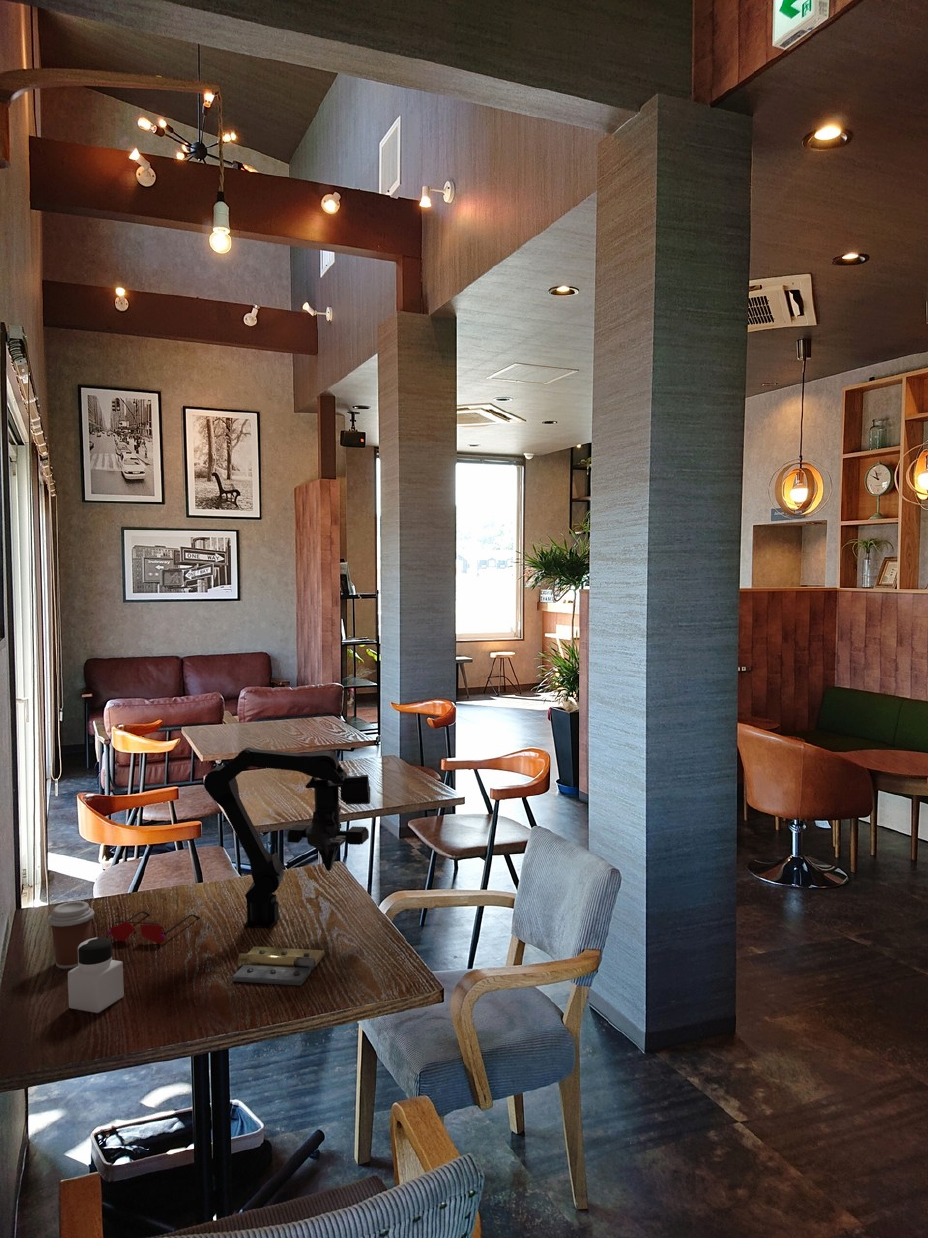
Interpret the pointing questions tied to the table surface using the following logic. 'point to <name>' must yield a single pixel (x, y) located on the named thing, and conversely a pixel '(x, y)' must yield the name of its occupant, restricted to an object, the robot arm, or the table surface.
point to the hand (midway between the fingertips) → (329, 870)
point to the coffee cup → (70, 931)
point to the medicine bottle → (95, 977)
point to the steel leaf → (276, 973)
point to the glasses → (142, 929)
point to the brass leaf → (277, 956)
